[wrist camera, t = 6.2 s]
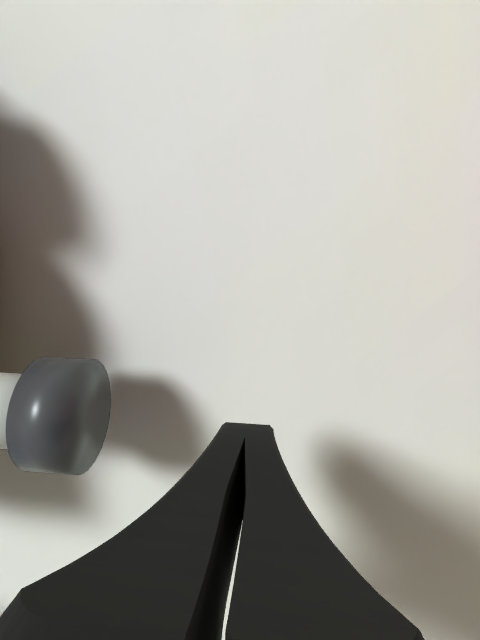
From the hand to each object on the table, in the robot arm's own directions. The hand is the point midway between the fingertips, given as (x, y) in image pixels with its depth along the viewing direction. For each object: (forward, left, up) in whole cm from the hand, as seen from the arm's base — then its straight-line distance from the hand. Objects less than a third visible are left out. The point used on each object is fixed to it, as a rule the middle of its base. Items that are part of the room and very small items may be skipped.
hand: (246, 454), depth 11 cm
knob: (-4, +7, -3) cm, 9 cm away
